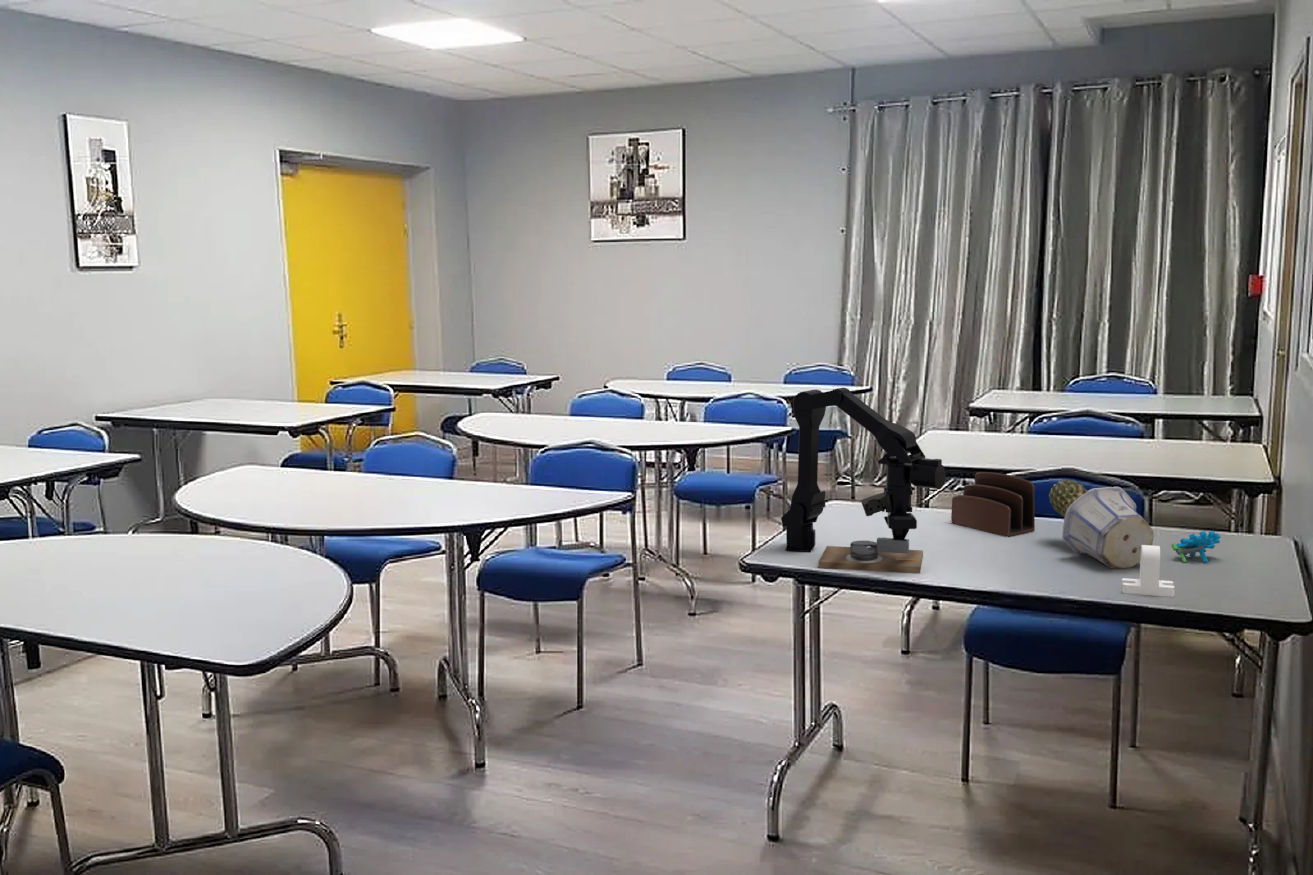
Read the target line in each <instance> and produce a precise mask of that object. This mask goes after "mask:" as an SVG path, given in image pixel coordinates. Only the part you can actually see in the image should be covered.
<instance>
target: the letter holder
mask: <svg viewBox="0 0 1313 875" xmlns="http://www.w3.org/2000/svg"><path fill="white" fill-rule="evenodd" d="M1035 504H1036V503H1035V484H1034V483H1033V482H1032V481H1030V480H1027V479H1025V478H1022V477H1018V476H1015V475H1010V474H1007V473H999V472H993V471H992V472H989V471H977V472H976V473H975V475H974V484H971V483H970V484H965V485H964V487H963V494H957V495H953V496H952V498H951V514H950V515H951V517H950V518H951V519H950V522H951V524H952V523H953V525H957V526H962V527H965V528H969V527H970V529H973V530H978V531H982V532H985V533H991V534H993V535H994V534H995V535H999V536H1001V537H1002V536H1004V537H1006V536H1008V538H1011V537H1010V536H1012V537H1017V536H1020V535H1021V534H1022V535H1025V533H1026V534H1029V533H1028V532H1031V533H1033V532H1032V531H1034V532H1035V529H1036V528H1035V526H1036V525H1035Z"/></svg>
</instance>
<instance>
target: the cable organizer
mask: <svg viewBox="0 0 1313 875" xmlns="http://www.w3.org/2000/svg"><path fill="white" fill-rule="evenodd" d="M1139 563H1140V564H1139V578H1122V579H1121V589H1122V593H1123V594H1128V595H1142V596H1155V597H1169V598H1173V597H1175V592H1176V591H1175V588H1176V587H1175V585H1174V581H1172V580H1162V579H1161V580H1160V571H1161V567H1160V566H1161V547H1160V545H1153V544H1152V545H1141V556H1140V561H1139Z"/></svg>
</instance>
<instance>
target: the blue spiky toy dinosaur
mask: <svg viewBox="0 0 1313 875" xmlns="http://www.w3.org/2000/svg"><path fill="white" fill-rule="evenodd" d="M1188 537H1189V538H1185V537H1184V538H1181V539H1180V540H1179V541H1180V543H1172V544H1170V545H1171V548H1172V550H1173V551H1175V552H1176V553H1177V556H1180V558H1181V560H1182V562H1183V564H1184V563H1187V559H1186V557H1185V556H1187V555H1190V557H1191V556H1195V555H1197V553H1199V555H1200V557H1201V559H1202V562H1203V564H1206V563H1208V562H1209V559H1208V558H1207V555H1206V552H1207V549H1211V550H1213V549H1214V548H1215V547H1216V544H1219V543H1221V540H1220V539H1221V535H1220V533H1217V532H1216V531H1214V530H1210V531H1209V532H1208V534H1207V532H1206V530H1203V531H1199V535H1196V534H1195V533H1190V535H1188Z"/></svg>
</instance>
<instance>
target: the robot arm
mask: <svg viewBox="0 0 1313 875" xmlns="http://www.w3.org/2000/svg"><path fill="white" fill-rule="evenodd" d="M833 406H836V407H837V408H839V410H841V411H843V413H845V414H846V415H847V416H849V417H850V418H851V419H853V421H855V422H857V423H858V425H860V426H862V428H864V429H865V430H866V431H868V432H869V433H870V434H872V436H873V437H874V438H875V439H876V442H877V444H878V445H879V446H880V447H881V449H883V451H884V452H885V454H884V455H883V456H882V457H881V458H880V459H879V460H878V461H877V464H879V465H886V482H885V486H884V487H883V492H880V493H877V494H874V495H873V494H872V495H871V496H869V497H865V498H863V499H861V500H860V502H861V506H862V508H863V510H864V513H865V516H866V517H871V516H873V515H874V514H877V513H879V512H880V513H881V512H882V513H887V516H883V519H884V521H885V523H886V525H887V527H888V529H890V530H891V533H892V538H897V539H906V537H907V535H908V534H909V531H910V530H916V529H917V528H918V520H917V518H916V516H914V514H913V506H912V496H913V494H914V493H913V492H914V491H913V489H912V485H913V486H915V487H917V488H918V487H919V488H925V489H931V490H942V489H943V487H944V486H945V482H946V476H947V475H946V474H947V473H946V471H945V466H944V465H943V459H941V458H926V455H925V454H924V452H923V450H922V449H921V447H920V445H919V444H918V442H917V437H916V434H915V433H914V432H913V431H912V430H910V429H909V428H907V427H904V426H903V425H901V424H898V423H895V422H893V421H892V422H891V421H890V420H888V419H886V418H884V417H883V416H882V415H880V414H879V413H878V412H877V411H875V410H874V409H873V407H870V406H869V405H868V404H866V403H865V402H864V401H863V400H861V399H860V398H858V397H857V396H856V395H855V394H853V393H852V392H851V390H850V389H848V388H847V387H839V388H834V389H832V390H829V391H827V390H826V391H821V390H819V389H810V390H805V391H801V392H798V393H797V394H796V395H795V396H794V397H793V400H792V407H793V417H794V418H795V421H796V424H797V425H798V454H797V455H798V456H797V457H798V458H797V459H798V461H797V482H796V483H797V484H796V487H795V489H794V490H793V493H792V495H791V501H790V506H789V510H788V511H786V513H784V514H783V515H782V516H781V517H780V521H781V524H782V526H783V527H785V528H786V529H785V530H786V531H785V532H786V535H785V536H786V538H785V539H786V546H785V548H784V550H785V551H787V550H790V552H810V553H811V552H812V551H813V549H814V548H815V546H816V529H815V528H814V523H817V521H818V518H819V516H820V515H821V514H823V511H824V508H826V506H827V505H826V502H825V500H826V490H821V489H820V487H819V484H818V474H819V471H818V470H819V439H820V436H819V435H820V426H821V424H822V422H823V419H824V417H825V415H826V409H827V408H828V407H833Z"/></svg>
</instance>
